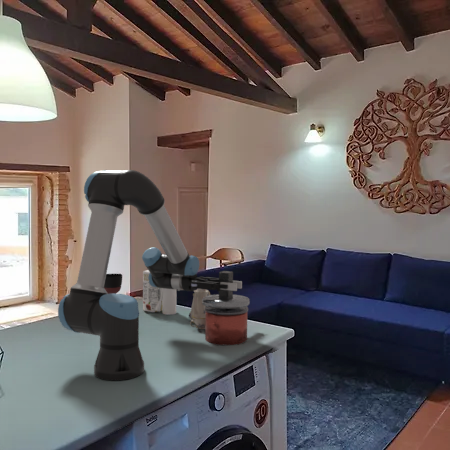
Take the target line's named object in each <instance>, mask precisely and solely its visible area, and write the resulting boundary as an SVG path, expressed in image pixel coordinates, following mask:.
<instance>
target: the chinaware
mask: <svg viewBox="0 0 450 450" xmlns="http://www.w3.org/2000/svg"><path fill="white" fill-rule="evenodd" d="M193 292H194V293H192V296H193V299H192V304H191V307H190V308H191V309H190V312H189V314H188V318H189V319H190V326H191V327H192V328H194V327H195V329H199V330H205V317H206V311H205V306H204V305H203V304H202V298H204V297H206V296H210V295H211V292H210V291H209V290H208V289H198V288H196V289H195V290H194V291H193ZM192 323H193V324H194V325H192Z"/></svg>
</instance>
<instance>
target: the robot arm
mask: <svg viewBox="0 0 450 450" xmlns="http://www.w3.org/2000/svg"><path fill="white" fill-rule="evenodd" d="M83 193H84V198H85V200H86V201H87V203H88V204H87V207H88V208H89V210H90V212H91V213H90V218H89V223H88V227H87V232H86V237H85V243H84V248H83V252H82V255H81V261H80V266H79V270H78V276H77V280H76V283H75V284H73V285H72V286H70V290H69V293H68V294H66V295H63V297H62V298H61V300H60V301H59V304H58V308H57V315H58V317H57V318H58V320H59V322H60V324H61V325H62V327H63V328H65V329H66V330H68V331H71V332H74V333H78V334H79V333H81V334H82V333H83V334H87V335H93V336H99V349H98V352H97V356H96V359H95V363H94V366H93V371H94V372H93V374H94V376H95V377H96V378H98V379H100V380H104V381H105V380H106V381H125V380H130V379H134V378H137V377H140V376H141V375H142V374H143V373H144V371H145V361H144V359H143V356H142V352H141V349H140V347H139V346H140V345H139V333H140V332H139V329H140V328H139V327H140V324H139V317H140V310H139V302H138V300H137V299H136V298H134V296H130V295H129V294H124V293H116V294H115V293H112V294H107V292H106V290H105V289H104V283H105V278H106V274H108V273H107V271H108V267H109V263H110V262H109V261H110V259H111V258H110V257H111V253H112V246H113V241H114V238H115V237H114V236H115V231H116V226H117V221H118V218H119V216H120V215H122V214H123V213H124V209H125V206H132V207H135V208H136V209H137V211H138V213H139V214H140V215H142V216H144V218H145V219H146V221H147V223H148V225H149V226H150V229H151V231H153V234H154V237H156V239H157V241H158V243H159V245H160V246H161V248H162V250H163V251H164V253H162V251H161V250H160V249H159V248H158V247H154V246H153V247H149V248H147V249H145V251H144V252H143V253H142V256H141V259H142V261H143V263H144V266H145V267H146V269H147V270H149V272H150V273H149V277H148V279H149V284H150V285H151V286H153V287H158V288H165V289H177V291H178V292H180V291H187V292H194V290H197V289H205V290H208V291H209V290H210V291H216V292H219V291H220V289H221V290H231V291H233V292H237V291H238V289H240V290H242V289H243V281H242V280H240V281H239V280H233V283H227V282H220V283H219V277H210V276H206V277H204V276H199V277H198V275H197V274H198V271H199V269H200V259H199V257H197V256H195V255H192V254H191V255H190V254H189V252H188V251H187V248H186V247H185V244H184V242H183V240H182V238H181V236H180V234H179V233H178V230H177V229H176V226H175V225H174V223H173V221H172V218H171V216H170V214H169V213H168V210H167V208H166V206H165V197H164V196H163V194H162V192H161V190H160V188H158V186H157V185H156V184H155V183H154V181H153V180H152V179H150V178H149V177H148V176H146V175H145V174H144V173H142V172H140V171H137V170H135V169H124V170H123V169H121V170H119V169H116V170H114V169H113V170H111V169H103V170H97V171H94V172H93V173H91V174H90V175H89V176H88V177H87V179H86V180H85V183H84V186H83Z"/></svg>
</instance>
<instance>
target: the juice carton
mask: <svg viewBox="0 0 450 450" xmlns="http://www.w3.org/2000/svg"><path fill="white" fill-rule="evenodd" d="M149 273H150V272H149V270H148V269H147V270H143V271H142V306H143V307H142V308H143V311H144V312H150V313H157V312H159V311H156V310H154V309H155V307H156V305H157V303H158V302H159V301H160V288H158V287H153V286H151V285H150V284H149V279H148V277H149ZM161 311H162V306H161Z"/></svg>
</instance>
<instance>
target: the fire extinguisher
mask: <svg viewBox="0 0 450 450" xmlns="http://www.w3.org/2000/svg"><path fill="white" fill-rule="evenodd" d="M177 291H178V289H165V288H160V301H159V302H158V303H157V305H156V307H155V309H154V310H156V311H158V312H161V311H162V315H168V316H169V315H175V314H177ZM161 306H162V310H161Z"/></svg>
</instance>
